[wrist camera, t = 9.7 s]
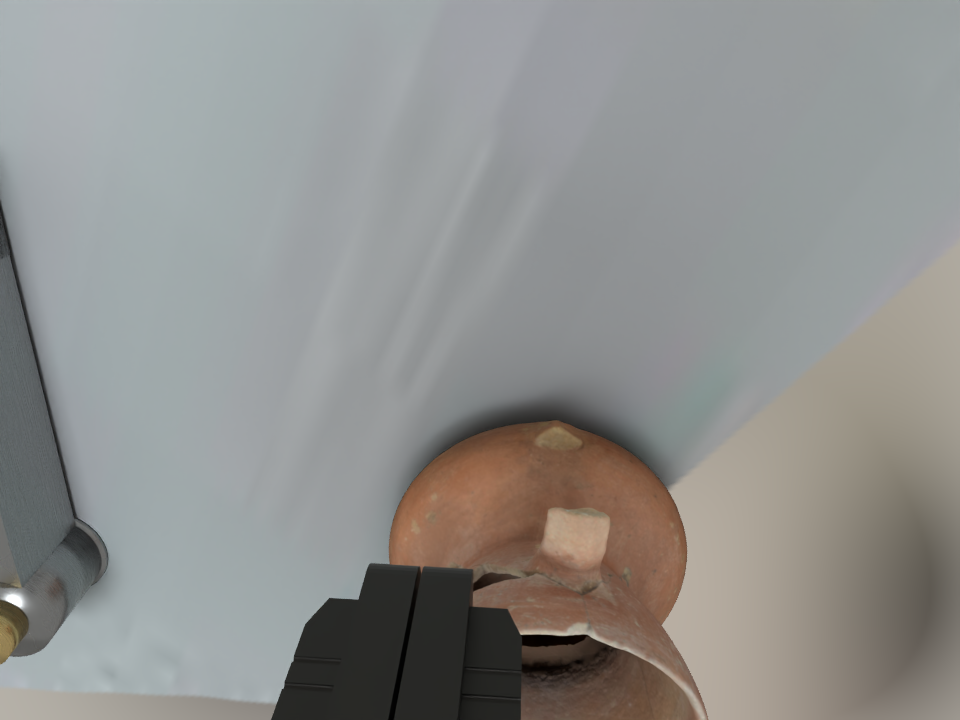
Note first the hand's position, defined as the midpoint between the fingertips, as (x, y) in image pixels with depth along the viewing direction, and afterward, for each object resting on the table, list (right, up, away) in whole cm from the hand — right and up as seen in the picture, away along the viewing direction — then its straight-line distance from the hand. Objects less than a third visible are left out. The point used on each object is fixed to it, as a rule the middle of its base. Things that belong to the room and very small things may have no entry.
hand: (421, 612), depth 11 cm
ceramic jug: (+4, -5, +30) cm, 31 cm away
